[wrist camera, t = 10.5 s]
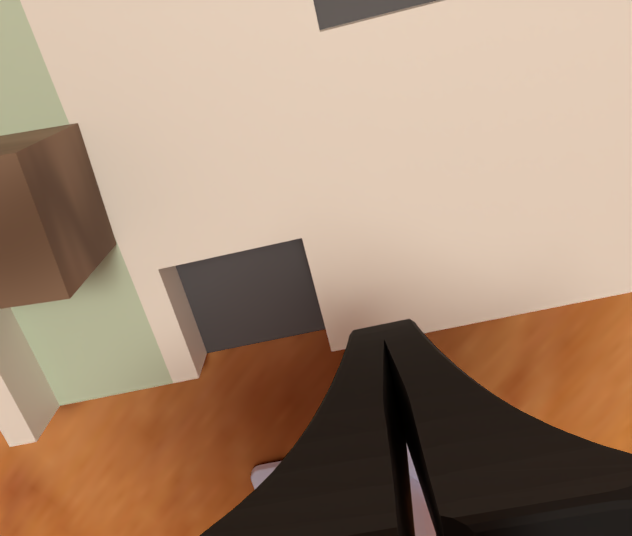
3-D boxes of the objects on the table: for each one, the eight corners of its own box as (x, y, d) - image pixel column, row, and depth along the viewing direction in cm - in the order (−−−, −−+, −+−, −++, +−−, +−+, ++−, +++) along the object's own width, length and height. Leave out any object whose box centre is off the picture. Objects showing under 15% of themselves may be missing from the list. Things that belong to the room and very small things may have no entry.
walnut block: (116, 243, 19) (69, 298, 16) (1, 261, 20) (-71, 319, 16) (78, 122, 18) (15, 153, 14) (-47, 143, 18) (-140, 178, 14)
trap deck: (700, 248, 22) (779, 298, 18) (56, 379, 24) (10, 446, 20) (718, -258, 16) (843, -341, 12) (-140, -16, 18) (-256, -23, 14)
